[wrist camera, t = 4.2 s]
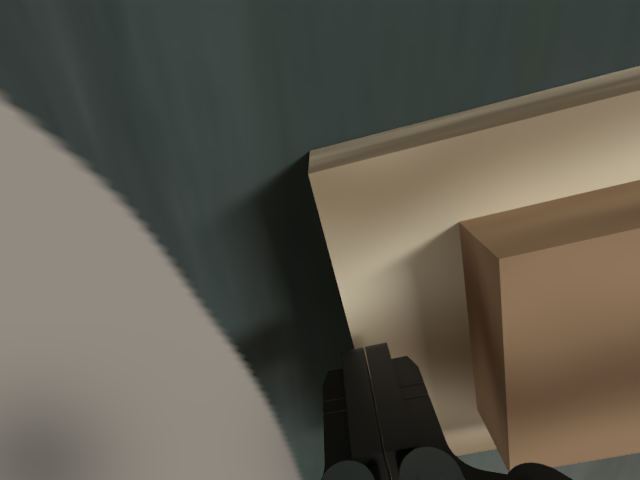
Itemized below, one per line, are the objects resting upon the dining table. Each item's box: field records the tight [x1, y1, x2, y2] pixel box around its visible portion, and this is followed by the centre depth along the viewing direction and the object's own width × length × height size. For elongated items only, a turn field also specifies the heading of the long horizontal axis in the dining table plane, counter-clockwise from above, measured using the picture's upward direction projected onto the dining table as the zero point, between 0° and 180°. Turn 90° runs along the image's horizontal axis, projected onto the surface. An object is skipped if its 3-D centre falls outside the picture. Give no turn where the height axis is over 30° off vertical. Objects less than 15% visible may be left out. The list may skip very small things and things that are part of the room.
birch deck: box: [308, 66, 640, 456], centre depth 13 cm, size 13×18×4 cm
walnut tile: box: [459, 180, 640, 472], centre depth 11 cm, size 8×6×2 cm
